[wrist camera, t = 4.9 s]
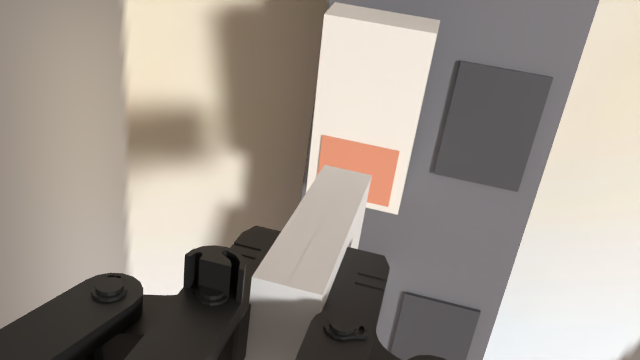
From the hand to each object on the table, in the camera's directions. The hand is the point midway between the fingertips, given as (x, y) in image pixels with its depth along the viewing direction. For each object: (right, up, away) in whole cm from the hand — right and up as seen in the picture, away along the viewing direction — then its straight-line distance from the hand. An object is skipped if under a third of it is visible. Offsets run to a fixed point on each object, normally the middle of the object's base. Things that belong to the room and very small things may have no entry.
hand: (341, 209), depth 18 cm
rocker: (+1, +3, +2) cm, 4 cm away
